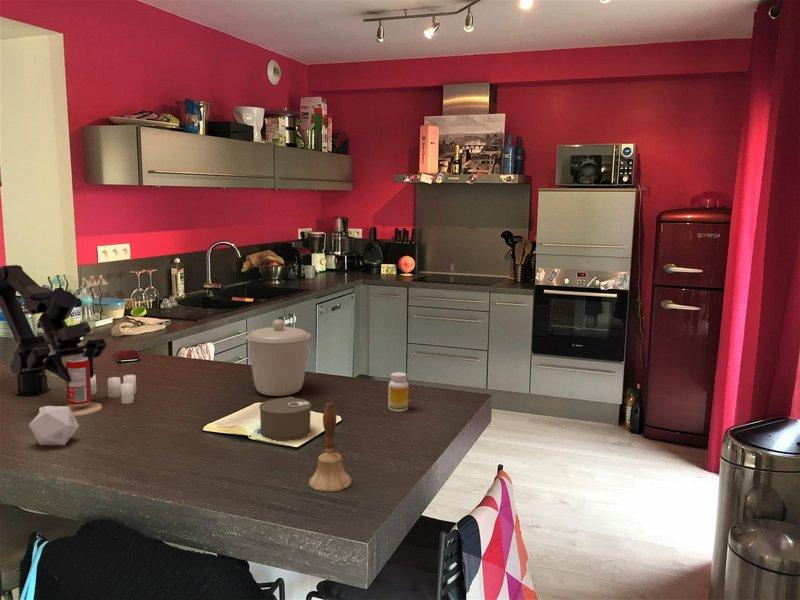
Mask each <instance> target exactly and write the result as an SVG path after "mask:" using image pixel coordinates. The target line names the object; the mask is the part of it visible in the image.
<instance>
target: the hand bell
mask: <svg viewBox="0 0 800 600" xmlns="http://www.w3.org/2000/svg"><path fill="white" fill-rule="evenodd" d="M322 424H323V425H322V426H323V431H324V434H325V446H324V448H325V449H324V451H325V452H324V453H322V454H320V455H319V456H318V460H317V466H316V467H317V468H316V470H315V472H314V474H313V476H311V477H310V479H309V481H308V485H309V487H310V488H312V489H314V490H316V491H319V492H337V491H338V492H339V491H342V490H344V489H347V488H348V487H350V486H351V485H352V478H351V476H350V475H349V474H347V472H346V471H345V469H344V464H343V458H342V456H341V454H340V453H337V452H335V438H334V437H335V431H336V426H337V413H336V411H335V407H334V404H333V402H330V401H329V402H326V404H325V408H324V411H323V414H322Z"/></svg>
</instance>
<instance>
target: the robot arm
mask: <svg viewBox="0 0 800 600" xmlns="http://www.w3.org/2000/svg"><path fill="white" fill-rule="evenodd" d="M17 293H18V294H19V295H20V296H21V297H22V298H23V299H24V301H23V302H24V303H23V304H24V305H23V306H24V307H25V309H26V310H27V311H28V313H29V314H30V315H38V314H40V316H39V317H38V319H37V321H38V322H37V324H36V326H37V329H42V331H43V333H44V335H45V337H46V338H45V337H44V336H43V335H38V336H37V335H35V333H34V331H33V329H32V327H31V324H30V322H29V320H28V318H27V316H26V314H25V312H24V309H23V306H22V305H21V303H20V300H19V298H18V297H17ZM77 303H78V299H77V296H76V295H75V294H73V293H72V292H70V291H68V290H65V289H64V287H55V288H54V290H53V289H51V288H50V287H44V286H40V285H39V284H38V283H37V282H36V281H35V280H33V278H31V276H30V275H28V273H26V272H25V271H24V269H23V267H22V265H18V264H12V265H9V264H7V265H3V266H0V309H1V313H2V314H3V317H4V318H5V321H6V323H7V325H8V328H9V330H10V332H11V334H12V336H13V338H14V341H15V343H16V345H15V349H14V351H13V354H14V355H13V359H12V360H11V363H10V364H9V365H10V371H11V373H12V374H15V375H16V377H17V379H16V380H17V390H18V391H16V392H14V395H15V396H39V395H41V394H43V393H45V392H47V391H49V390H50V387H49V385H48V384H49V383H48V375H47V374H46V371H49V372H51V373H53V374H54V375H56V376H58V377H59V378H60V379H62V380H63V381H65V382H68V383H70V382H71V379H70V376H69V374H68V372H67V370H66V365H65V364H64V363H63V359H62V358H65V357H70V356H78V355H79V357H87V358H88V360H89V363H90V378H93V376H94V375H95V374H94V359H96V358H99V357H101V355H102V354H103V352H104V350H106V347H108V343H107V342H106V339H105V338H102V337H99V338H91V339H88V340H87V342H86V344H85V345H81V346H78V344H81V343H82V339H81V338H83V337H86V335H88V334H90V333H91V331H92V330H91V326H90V324H89V323H88V321H80V322H79V323H77V324H72V325H68V324H67V322H66V320H67V319H68V318H70V316H71V314H72V313H73V310H74V308H75V306H77ZM50 347H51V348H50Z"/></svg>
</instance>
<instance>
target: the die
mask: <svg viewBox="0 0 800 600" xmlns="http://www.w3.org/2000/svg"><path fill="white" fill-rule="evenodd" d="M43 407H44V406H43ZM28 426H29V428H30V430H31V431H32V433H33V435H34V437H35V439H36V440H37V442H38V444H39V446H65V445H66V444H67V443H68V441H69V440H70V439H71V438H72V436H73V435H74V434H75V433H76V431H77V430H78V429H79V427H80V425H79V423H78V421H77V419H76V416H74V415H73V413H72V411H71V410H70V408H69V406H66V405H64V406H58V405H57V406H56V405H55V406H54V405H46V406H45V407H44V408H43V409H42V410H41V412H40V413H39V412H38V414H37V415H36V416H35V417H34V419H32V421H31V422H30V423H29V424H28Z"/></svg>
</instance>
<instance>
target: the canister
mask: <svg viewBox="0 0 800 600" xmlns="http://www.w3.org/2000/svg"><path fill="white" fill-rule="evenodd" d="M271 324H272V325H271V326H272V327H270V326H269V327H263V328H258V329H255V330H253V331H251V332H250V333H248V334H247V335H246V336H245V339H246V340H247V341H248V345H249V346H248V347H249V354H250V355H249V356H250V363H251V370H252V372H251V373H252V379H253V383H254V387H255V389H256V390H257V392H258V393H260V394H261V395H264V396H267V397H268V396H269V397H270V396H271V397H284V396H285V397H286V396H290V395H294V394H296V393H298V392H299V391H301V389H302V387H303V384H304V380H305V373H306V364H307V356H308V355H307V354H308V348H309V347H308V345H309V340H310V339H311V336H312V335H311V333H309V332H307V331H305V330H304V329H301V328H297V327H291V326H286V324H285V321H284V320H282V319H275V320H273V322H272V323H271Z"/></svg>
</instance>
